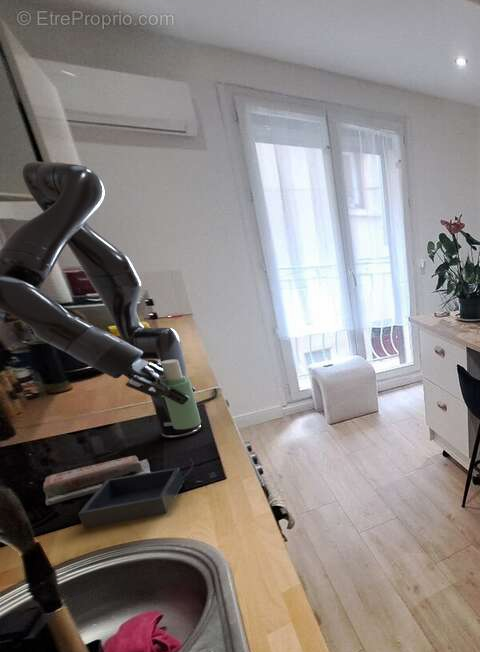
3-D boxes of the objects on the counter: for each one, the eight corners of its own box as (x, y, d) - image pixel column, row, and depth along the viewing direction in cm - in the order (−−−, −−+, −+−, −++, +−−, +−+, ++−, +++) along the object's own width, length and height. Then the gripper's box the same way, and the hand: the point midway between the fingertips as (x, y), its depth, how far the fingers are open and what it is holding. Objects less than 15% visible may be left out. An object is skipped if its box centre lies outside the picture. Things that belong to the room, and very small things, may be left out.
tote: (112, 495, 97) (106, 479, 96) (184, 483, 103) (179, 467, 101) (85, 531, 86) (77, 513, 84) (167, 515, 92) (161, 498, 90)
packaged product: (38, 490, 91) (41, 472, 97) (46, 508, 92) (49, 489, 99) (147, 461, 103) (143, 447, 109) (152, 478, 105) (148, 462, 111)
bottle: (177, 421, 99) (158, 359, 94) (203, 418, 101) (187, 357, 96) (170, 431, 95) (150, 365, 89) (198, 427, 97) (180, 363, 92)
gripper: (103, 348, 81) (193, 395, 91) (131, 332, 94) (208, 375, 103) (76, 375, 81) (169, 420, 90) (107, 356, 93) (187, 397, 102)
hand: (189, 396), depth 97 cm, fingers closed on bottle, 5 cm apart
